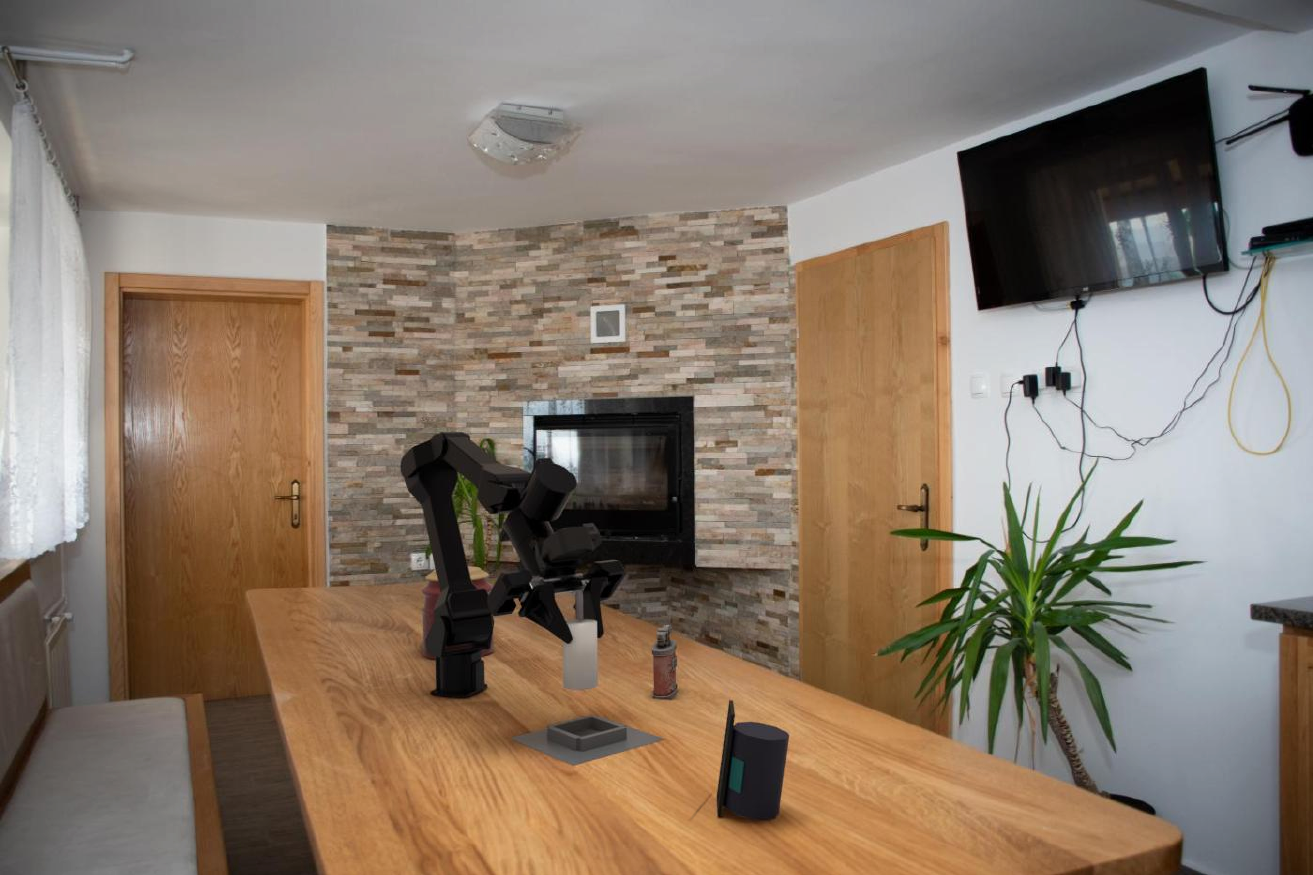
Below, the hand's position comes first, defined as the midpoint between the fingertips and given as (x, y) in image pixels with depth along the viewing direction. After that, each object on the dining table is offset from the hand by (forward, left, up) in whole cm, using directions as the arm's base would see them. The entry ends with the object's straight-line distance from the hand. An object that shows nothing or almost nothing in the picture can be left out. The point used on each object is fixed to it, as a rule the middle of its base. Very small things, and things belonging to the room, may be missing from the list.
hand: (586, 639), depth 117 cm
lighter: (+2, +24, -13) cm, 28 cm away
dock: (0, 0, -13) cm, 13 cm away
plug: (-1, +1, -6) cm, 6 cm away
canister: (-44, +41, -13) cm, 62 cm away
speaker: (+25, -15, -13) cm, 32 cm away
